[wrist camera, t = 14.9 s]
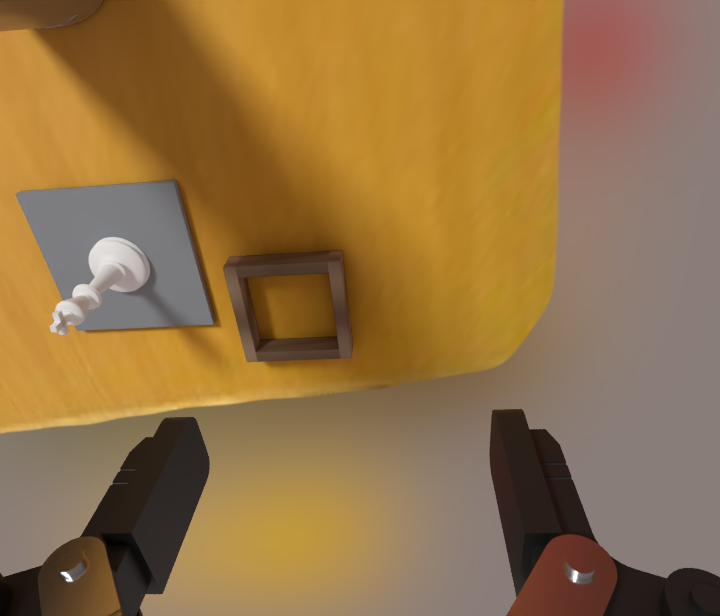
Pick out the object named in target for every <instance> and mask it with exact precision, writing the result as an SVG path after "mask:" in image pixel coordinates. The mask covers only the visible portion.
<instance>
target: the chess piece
mask: <svg viewBox="0 0 720 616" xmlns="http://www.w3.org/2000/svg"><path fill="white" fill-rule="evenodd" d="M89 266H90V269H91V271H92V273H93V275H94V276H95V277H94V279H93V280H92V281H91V283H90V284H89V285H87V284H80V285H77V286H76V287H75V288H74V290H73V293H72V296H73V298H71V299H67V300H64V301H62V302H60V303H59V304H58V305H57V306H56V311H54V312H53V313H52V316H53V318H54V321H55V322H54V323H53V324H52V325H51V326H50V329H51V332H59V334H60V335H66V334H67V333H68V332H69V330H68V327H67V324H68V325H79V324H81V323H82V322H83V321H84V320H85V317H86V313H87V310H92V309H95V308H98V307H99V306H100V305H101V303H102V297H101V295H100V294H101V293H103V292H104V291H106V290H107V289H108V288H109V289H112V290H114V291H118V292H131V291H135V290H137V289H138V288H140V287H141V286H143V285H144V284H145V283H146V282H147V280H148V278H149V275H150V265H149V262H148V259H147V257H146V256H145V254H144V253H143V252H142V250H141V249H140V248H139V247H137V246H136V245H135V244H133V243H132V242H130V241H128V240H126V239H123V238H118V237H107V238H104V239H101V240H100V241H98V242H97V243H96V244H95V245H94V247H93V248H92V249H91V251H90V254H89Z"/></svg>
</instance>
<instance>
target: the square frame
mask: <svg viewBox="0 0 720 616" xmlns="http://www.w3.org/2000/svg"><path fill="white" fill-rule="evenodd" d="M223 270H224V274H225V278H226V282H227V286H228V290H229V294H230V298H231V302H232V305H233V309H234V313H235V317H236V321H237V325H238V329H239V333H240V337H241V341H242V345H243V349H244V353H245V357H246V361H247V362H260V361H287V360H314V359H340V358H352V350H353V340H352V331H351V323H350V314H349V306H348V297H347V289H346V280H345V272H344V263H343V254H342V250H340V251H323V252H305V253H288V254H271V255H253V256H236V257H229V259H228V260H227V262H226V264H225V265H224V267H223ZM320 273H329V278H330V286H331V293H332V301H333V308H334V315H335V323H336V330H337V337H315V338H290V339H266V340H260V335H259V331H258V327H257V322H256V318H255V314H254V309H253V305H252V300H251V296H250V292H249V287H248V283H247V279H246V277H264V276H283V275H301V274H320Z"/></svg>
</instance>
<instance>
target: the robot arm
mask: <svg viewBox="0 0 720 616" xmlns="http://www.w3.org/2000/svg"><path fill="white" fill-rule="evenodd" d="M102 2H103V0H0V31H10V30H23V29H35V28H41V29H43V28H55V27H60V26H68V25H72V24H76V23H80V22H82V21H83V20H85V19H87V18H89V17H90V16H91V15H92V14H93V13H94V12H95V11H96V10H97V9H98V8H99V7H100V6H101V4H102ZM490 467H491V475H492V480H493V485H494V490H495V494H496V499H497V504H498V509H499V514H500V519H501V523H502V528H503V533H504V538H505V543H506V548H507V553H508V558H509V563H510V568H511V572H512V577H513V582H514V587H515V591H516V597H517V598H516V600H515V602H514V603H513V605H512V607H511V608H510V610H509V612H508V614H507V615H506V616H720V577H718V576H716V575H714V574H712V573H709V572H707V571H704V570H700V569H694V568H683V569H678V570H677V571H674V572H673V573H671V574H670V575H669V577H668V578H663V577H660V576H656V575H653V574H650V573H646V572H642V571H640V570H636V569H633V568H630V567H628V566H626V565H624V564H622V563H620V562H618V561H617V560H615V559H613V558H612V557H611V556H610V555H609V554H608V552H607V551H606V550H605V549H604V548H603V547H601V546H600V545H599V544H598V542H597V541H596V539H595V537H594V535H593V533H592V530H591V528H590V525H589V522H588V520H587V517H586V514H585V512H584V509H583V506H582V504H581V501H580V498H579V495H578V493H577V490H576V488H575V485H574V482H573V480H572V479H571V474H570V472H569V469H568V466H567V465H566V461H565V458H564V455H563V453H562V450H561V447H560V445H559V443H558V442H557V441H556V440H555V439H554V438H553V437H552V436H551V435H550V434H549V433H548V432H547V430H545V429H534V430H533V429H531V430H529V427H528V424H527V421H526V417H525V414H524V412H523V410H522V409H508V410H507V409H506V410H493V411H492V420H491V436H490ZM208 474H209V456H208V453H207V450H206V447H205V444H204V441H203V438H202V435H201V432H200V429H199V426H198V423H197V421H196V419H195V418H194V417H177V418H176V417H174V418H165V419H164V420H163V421H162V422H161V424H160V426H159V427H158V429H157V431H156V433H155V435H154V437H147V438H145V439H143V440H142V441H141V442H140V443H139V444H138V445H137V446H136V447H135V448H134V449H133V450H132V451H131V452H130V453H129V455H128V456H127V458H126V460H125V461H124V463H123V465H122V467H121V471H120V472H118V474H117V475H116V477H115V479H114V480H113V485H111V486H110V487H109V489H108V491H107V492H106V494H105V496H104V497H103V499H102V501H101V502H100V504H99V506H98V508H97V509H96V511H95V513H94V514H93V516H92V518H91V520H90V521H89V523H88V525H87V527H86V528H85V530H84V532H83V533H82V535H81V536H80V537H79V538H76V539H73V540H71V541H69V542H67V543H65V544H63V545H62V546H60V547H59V548H58V549H56V550H55V551H54V552H53V553H52V554H51V555H50V556H49V557H48V558H47V560H46V561H45V562H44V564H43V565H42V566H39V567H36V568H32V569H29V570H26V571H22V572H19V573H16V574H12V575H9V576H6V577H3V576H2V575H1V573H0V616H143V614H142V612H141V609H140V606H141V603H142V601H143V598H144V596H145V594H163V591H164V589H165V586H166V584H167V581H168V579H169V576H170V573H171V571H172V568H173V566H174V563H175V561H176V558H177V555H178V553H179V550H180V548H181V545H182V543H183V540H184V537H185V535H186V532H187V530H188V527H189V525H190V522H191V520H192V517H193V514H194V512H195V509H196V506H197V504H198V501H199V499H200V496H201V494H202V491H203V489H204V486H205V484H206V481H207V478H208Z"/></svg>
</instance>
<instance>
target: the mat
mask: <svg viewBox="0 0 720 616" xmlns="http://www.w3.org/2000/svg"><path fill="white" fill-rule="evenodd" d="M16 196H17V198H18V201H19V203H20V205H21V207H22V210H23V212H24V214H25V216H26V218H27V221H28V223H29V225H30V227H31V230H32V232H33V234H34V236H35V239H36V241H37V243H38V245H39V247H40V250H41V252H42V254H43V256H44V259H45V261H46V263H47V265H48V267H49V270H50V272H51V274H52V276H53V279H54V281H55V283H56V285H57V288H58V290H59V292H60V294H61V296H62V299H63V301H64V300H67V299H71V298H73V296H72V293H73V290H74V288H75V287H76V286H77V285H80V284H87V285H89V284H90V283H91V281H92V280H93V279H94V277H95V276H94V275H93V273H92V271H91V269H90V266H89V254H90V251H91V249H92V248H93V247H94V245H95V244H96V243H97V242H98V241H100V240H101V239H104V238H107V237H118V238H123V239H126V240H128V241H130V242H132V243H133V244H135V245H136V246H137V247H139V248H140V249H141V250H142V252H143V253H144V254H145V256H146V257H147V259H148V262H149V265H150V275H149V278H148V280H147V282H146V283H145V284H144V285H143V286H141V287H140V288H138V289H137V290H135V291H131V292H118V291H114V290H112V289H109V288H108V289H107V290H106V291H104V292H103V293H101V294H100V295H101V297H102V303H101V305H100V306H99V307H98V308H95V309H92V310H87V313H86V317H85V320H84V321H83V322H82V323H81V324H79V325H75V328H76V330H77V331H82V330H104V329H127V328H149V327H171V326H194V325H214V323H215V318H214V314H213V310H212V307H211V303H210V300H209V296H208V292H207V289H206V285H205V282H204V278H203V274H202V271H201V267H200V264H199V260H198V256H197V253H196V249H195V246H194V242H193V238H192V235H191V231H190V228H189V224H188V220H187V217H186V213H185V210H184V206H183V202H182V199H181V195H180V192H179V188H178V184H177V181H176V180H170V181H156V182H142V183H129V184H115V185H101V186H88V187H74V188H60V189H46V190H33V191H20V192H18V193H16Z"/></svg>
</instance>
